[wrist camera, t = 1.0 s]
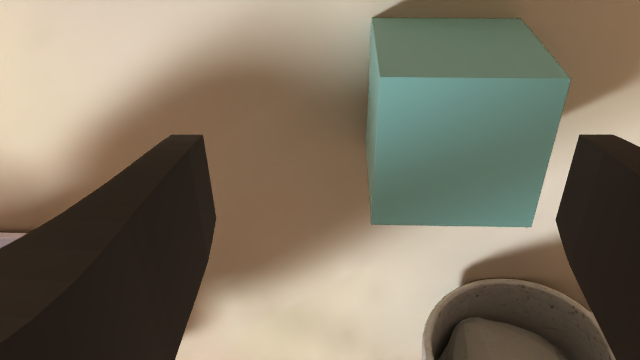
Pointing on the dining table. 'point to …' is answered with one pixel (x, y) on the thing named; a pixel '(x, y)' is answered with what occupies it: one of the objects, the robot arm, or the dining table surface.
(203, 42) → the dining table surface
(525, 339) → the ceramic mug
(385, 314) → the dining table surface
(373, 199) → the teal cube
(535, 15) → the dining table surface
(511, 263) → the dining table surface
